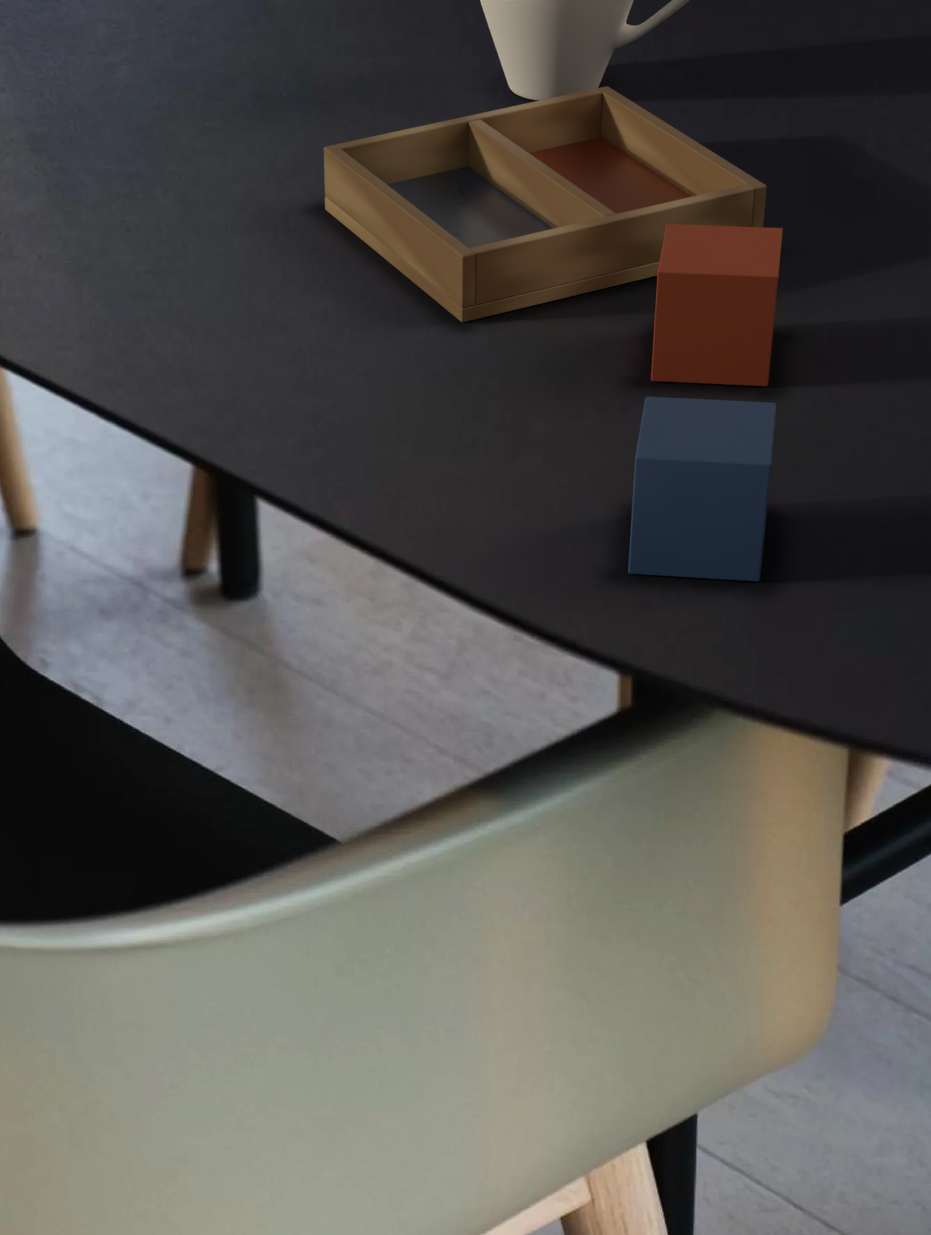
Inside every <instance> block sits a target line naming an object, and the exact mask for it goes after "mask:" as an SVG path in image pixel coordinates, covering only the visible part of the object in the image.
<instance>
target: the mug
mask: <svg viewBox="0 0 931 1235" xmlns="http://www.w3.org/2000/svg"><path fill="white" fill-rule="evenodd" d="M479 1H480V5H481V8H482V11H483V13H484V16H485V20H486V23H487V27H488V29H489V32H490V35H491V38H492V41H493V44H494V47H495V50H496V52H497V56H498V59H499V61H500V65H501V67H502V70H503V74H504V76H505V79H506V82H507V85H508V88H509V89H510V90H511V92H512V93H513V94H515V95H517V96H518V97H521V98H524V99H528V100H532V101H540V100H545V99H549V98H554V97H559V96H563V95H568V94H573V93H577V92H582V91H587V90H591V89H597V88H599V86H600V84H601V82H602V79H603V78H604V74H605V72H606V69H607V67H608V65H609V63H610V60H611V58H612V56H613V54H614V51H615V50H616V49H618V48H621V47H623V46H627V45H629V44H630V43H633V42H634V41H637V40H638V39H639V38H641V37H643V36H644V35H646V34H647V33H649V32H650V31H651V30H653V29H654V28H655V27H657V26H658V25H660V24H661V23H662V22H664V21H665V20H667V19H668V18H670V16H672V15H674V14H675V13H677V11H678V10H680V9H681V8H682V7H684V6H685V5H686V4H687V3H688V2H690V0H671V1H670V2H669V1H668V3H666V4H665V5H664V6H663V7H661V8H660V9H659V10H657V12H655V13H654V14H653V15H652V16H650V17H649V18H648V19H646V20H645V21H643V22H642V23H640V24H637V25H632V24H628V23H627V20H628V16H629V14H630V11H631V9H632V6H633V3H634V0H479Z"/></svg>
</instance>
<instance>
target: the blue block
mask: <svg viewBox="0 0 931 1235" xmlns="http://www.w3.org/2000/svg"><path fill="white" fill-rule="evenodd" d="M641 415H642V416H641V421H640V427H639V433H638V437H637V438H638V439H637V444H636V451H635V456H634V467H633V468H634V469H633V470H634V471H633V487H632V504H631V519H630V521H631V522H630V536H629V552H628V568H627V572H628V574H629V575H640V576H641V575H642V576H658V577H673V578H688V579H689V578H691V579H707V580H723V581H740V582H741V581H742V582H754V583H755V582H757V583H758V582H760V581H761V575H762V574H761V573H762V565H763V564H762V563H763V553H764V543H765V534H766V525H767V524H766V523H767V513H768V503H769V495H770V494H769V492H770V484H771V483H770V482H771V475H772V474H771V473H772V464H773V463H772V462H773V452H774V441H775V440H774V439H775V429H776V417H777V416H776V415H777V403H776V402H771V401H770V402H768V401H767V402H766V401H746V400H745V401H744V400H727V399H708V398H707V399H705V398H687V397H686V398H685V397H667V396H666V397H664V396H646V397H645V398H644V403H643V408H642V414H641Z"/></svg>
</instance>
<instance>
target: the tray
mask: <svg viewBox="0 0 931 1235" xmlns="http://www.w3.org/2000/svg"><path fill="white" fill-rule="evenodd" d="M323 168H324V169H323V170H324V171H323V174H324V175H323V176H324V196H325V197H324V209H325V211H326V212H327V213H329V214H330V215H331V216H333V217H334V219H336V220H337V221H338V222H339V223H341V225H343V226H344V227H345V228H347V229H348V230H349V231H350V232H352V233H353V234H354V235H355V236H356V237H358V238H359V239H360V240H361V241H362V242H364V243H365V244H366V245H367V246H368V247H370V248H371V249H372V250H373V251H374V252H376V253H377V254H378V255H379V256H381V257H382V258H383V259H384V260H386V261H387V262H388V263H389V264H391V266H393V267H394V268H395V269H396V270H398V271H399V272H400V273H401V274H402V275H404V276H405V277H406V278H407V279H409V280H410V281H411V282H412V283H413V284H414V285H416V286H417V287H418V288H419V289H421V290H422V291H423V292H424V293H425V294H426V295H428V296H429V297H430V298H432V299H433V300H434V301H435V302H437V304H438V305H440V306H441V307H443V308H444V309H445V310H446V311H447V312H448V313H450V314H451V315H452V316H453V317H455V318H456V319H457V321H459V322H461V323H466V322H471V321H476V320H480V319H483V318H487V317H491V316H496V315H499V314H504V313H508V312H512V311H513V312H514V311H516V310H521V309H525V308H529V307H534V306H537V305H542V304H545V303H549V302H554V301H558V300H562V299H566V298H570V297H574V296H578V295H583V294H587V293H591V292H594V291H599V290H603V289H607V288H608V289H609V288H612V287H616V286H620V285H624V284H629V283H633V282H636V281H637V282H638V281H641V280H646V279H650V278H654V277H658V268H659V263H660V257H661V251H662V246H663V240H664V235H665V229H666V225H667V224H681V225H709V226H737V227H764V220H765V209H766V200H767V199H766V198H767V189H768V188H767V185H766V184H765V183H763V182H761V181H760V180H758V179H757V178H756V177H754V176H752V175H751V174H749V173H748V172H746V171H744V170H742V169H741V168H739V167H738V166H736V165H735V164H733V163H731V162H729V161H728V160H727V159H725V158H723V157H721V156H720V155H718V154H717V153H715V152H713V151H712V150H710V149H709V148H707V147H706V146H704V145H702V144H701V143H699V142H698V141H696V140H695V139H693V138H691V137H690V136H688V135H687V134H685V133H683V132H682V131H680V130H679V129H677V128H675V127H673V126H672V125H670V124H669V123H667V122H666V121H664V120H662V119H661V118H659V117H658V116H657V115H655V114H653V113H651V112H650V111H649V110H647V109H645V108H643V107H642V106H640V105H639V104H637V103H635V102H634V101H632V100H631V99H629V98H627V97H626V96H624V95H622V94H621V93H619V92H618V91H616V90H615V89H613V88H611V87H610V86H607V85H606V86H601V87H598V88H597V89H591V90H587V91H582V92H577V93H573V94H568V95H563V96H559V97H554V98H549V99H545V100H540V101H538V100H534V101H532V102H531V101H530V102H527V103H522V104H517V105H513V106H508V107H504V108H498V109H493V110H490V111H489V110H488V111H485V112H480V113H476V114H470V115H466V116H462V117H457V118H452V119H448V120H443V121H442V120H441V121H438V122H433V123H429V124H424V125H420V126H415V127H410V128H405V129H402V130H397V131H392V132H391V131H390V132H387V133H383V134H377V135H373V136H369V137H368V136H367V137H364V138H359V139H354V140H350V141H345V142H340V143H336V144H331V145H327V146H324V147H323Z"/></svg>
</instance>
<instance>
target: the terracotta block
mask: <svg viewBox="0 0 931 1235" xmlns="http://www.w3.org/2000/svg"><path fill="white" fill-rule="evenodd" d="M783 232H784V229H783V227H765V226H763V227H737V226H709V225H681V224H667V225H666V229H665V235H664V240H663V246H662V251H661V257H660V263H659V268H658V276H656V294H655V308H654V309H655V310H654V323H653V324H654V326H653V341H652V342H653V343H652V357H651V358H652V359H651V372H650V373H651V374H650V381H651V382H661V383H683V384H684V383H685V384H705V385H725V386H726V385H727V386H748V387H768V386H769V378H770V371H771V370H770V369H771V359H772V358H771V357H772V350H773V349H772V348H773V338H774V327H775V318H776V305H777V296H778V287H779V286H778V285H779V275H780V274H779V273H780V265H781V264H780V263H781V255H782V254H781V252H782V243H783Z"/></svg>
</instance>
